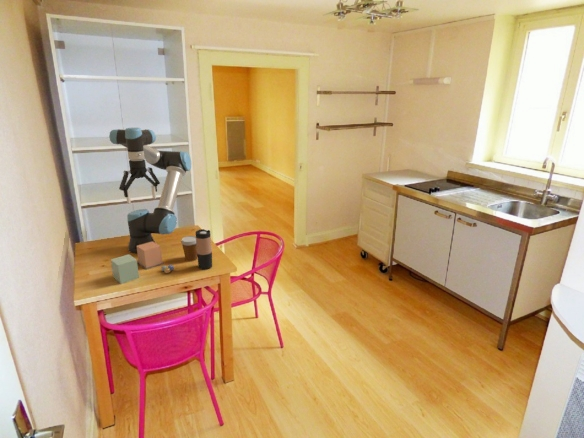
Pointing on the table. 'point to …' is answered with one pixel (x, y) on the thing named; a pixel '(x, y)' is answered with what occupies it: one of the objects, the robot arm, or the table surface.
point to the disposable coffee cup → (189, 248)
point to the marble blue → (171, 267)
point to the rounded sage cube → (124, 268)
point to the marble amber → (167, 270)
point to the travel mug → (204, 249)
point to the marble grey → (163, 268)
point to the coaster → (150, 267)
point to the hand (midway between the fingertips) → (142, 200)
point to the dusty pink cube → (149, 254)
